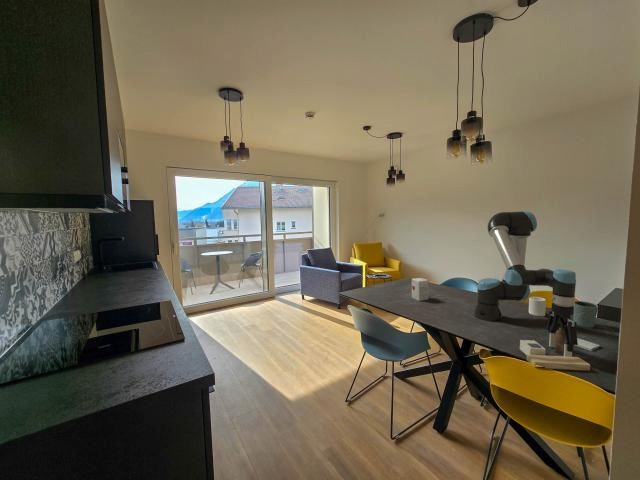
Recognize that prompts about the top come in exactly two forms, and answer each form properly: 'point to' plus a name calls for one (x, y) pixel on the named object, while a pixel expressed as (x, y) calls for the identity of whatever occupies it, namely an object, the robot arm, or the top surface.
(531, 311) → the mug
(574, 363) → the batten
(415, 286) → the supplement box
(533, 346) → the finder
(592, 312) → the grey round pot
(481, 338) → the top surface
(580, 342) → the hard drive
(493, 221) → the robot arm
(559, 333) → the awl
